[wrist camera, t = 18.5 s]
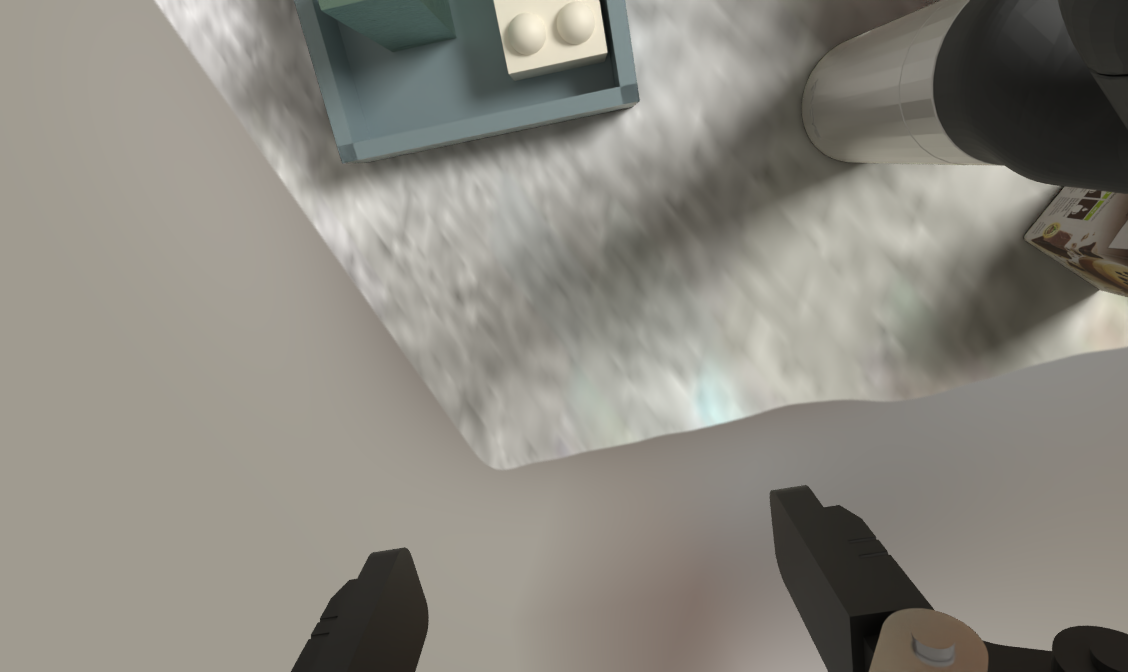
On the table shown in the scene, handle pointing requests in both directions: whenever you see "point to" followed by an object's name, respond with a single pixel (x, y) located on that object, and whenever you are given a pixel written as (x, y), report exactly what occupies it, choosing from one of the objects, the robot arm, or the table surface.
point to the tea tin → (395, 20)
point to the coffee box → (1087, 236)
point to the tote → (453, 83)
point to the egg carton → (550, 35)
